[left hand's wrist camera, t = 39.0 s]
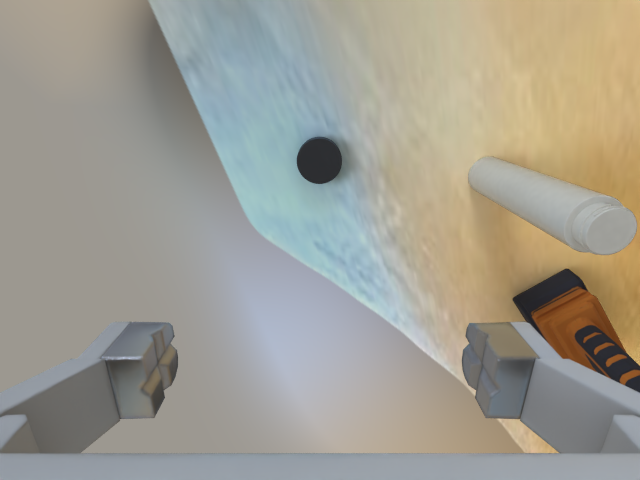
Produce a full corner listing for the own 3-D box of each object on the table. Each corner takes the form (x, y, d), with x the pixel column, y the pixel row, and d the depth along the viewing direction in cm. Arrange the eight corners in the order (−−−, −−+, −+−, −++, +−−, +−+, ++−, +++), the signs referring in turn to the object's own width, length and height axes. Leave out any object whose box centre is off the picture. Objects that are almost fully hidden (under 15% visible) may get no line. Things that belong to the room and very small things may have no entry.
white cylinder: (511, 176, 42) (655, 235, 24) (480, 200, 43) (596, 273, 25) (492, 148, 41) (627, 188, 23) (460, 173, 42) (567, 229, 24)
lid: (349, 159, 41) (351, 162, 40) (318, 189, 42) (318, 192, 41) (320, 127, 40) (320, 128, 38) (288, 158, 41) (287, 160, 40)
